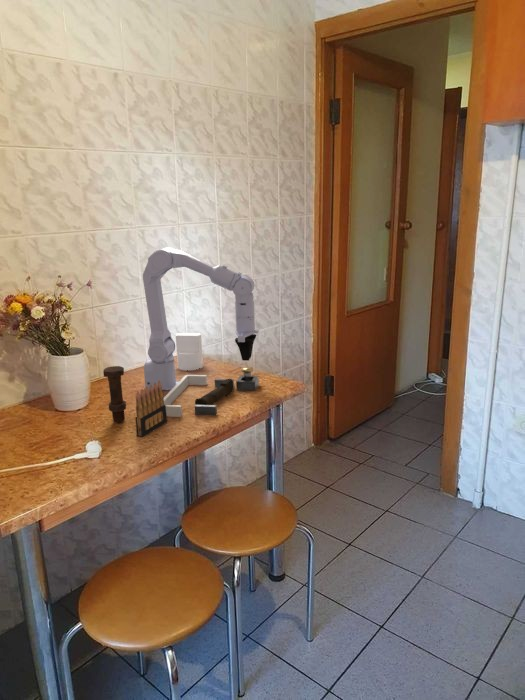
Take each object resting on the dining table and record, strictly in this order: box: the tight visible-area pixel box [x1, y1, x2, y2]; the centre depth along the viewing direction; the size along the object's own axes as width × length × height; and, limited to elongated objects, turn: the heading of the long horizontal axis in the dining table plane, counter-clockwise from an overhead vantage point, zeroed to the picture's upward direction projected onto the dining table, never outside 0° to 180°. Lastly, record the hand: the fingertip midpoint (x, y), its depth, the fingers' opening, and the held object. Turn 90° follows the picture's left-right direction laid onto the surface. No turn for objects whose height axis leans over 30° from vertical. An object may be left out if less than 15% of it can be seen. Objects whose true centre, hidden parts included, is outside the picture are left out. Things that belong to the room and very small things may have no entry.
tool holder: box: [194, 374, 260, 416], centre depth 160 cm, size 14×27×3 cm, turn 171°
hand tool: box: [194, 378, 234, 406], centre depth 159 cm, size 19×4×5 cm, turn 152°
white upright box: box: [175, 332, 204, 371], centre depth 192 cm, size 9×9×12 cm
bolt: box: [102, 365, 127, 424], centre depth 144 cm, size 6×5×15 cm
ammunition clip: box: [135, 381, 168, 438], centre depth 139 cm, size 11×2×12 cm, turn 154°
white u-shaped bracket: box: [163, 374, 208, 418], centre depth 161 cm, size 7×28×3 cm, turn 171°
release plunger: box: [240, 366, 254, 381], centre depth 169 cm, size 4×4×4 cm
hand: (246, 359), depth 167 cm, fingers open, 2 cm apart
